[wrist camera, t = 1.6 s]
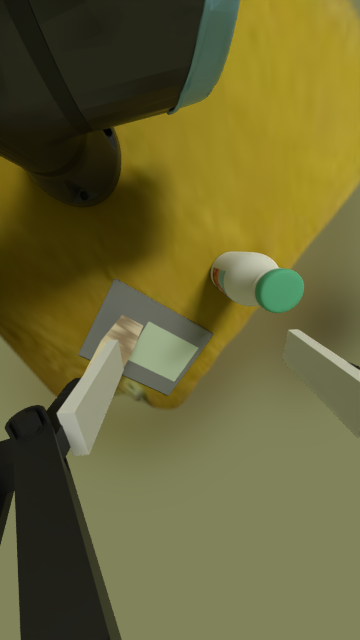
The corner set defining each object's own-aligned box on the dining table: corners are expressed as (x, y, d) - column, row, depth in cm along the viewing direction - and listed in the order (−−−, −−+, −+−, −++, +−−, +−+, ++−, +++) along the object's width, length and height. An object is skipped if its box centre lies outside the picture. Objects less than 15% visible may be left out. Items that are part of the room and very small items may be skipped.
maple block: (106, 343, 41) (81, 377, 30) (121, 314, 39) (100, 339, 28) (127, 353, 42) (110, 390, 31) (143, 325, 40) (131, 354, 29)
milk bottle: (212, 250, 36) (254, 249, 17) (251, 253, 36) (333, 255, 17) (207, 289, 38) (238, 325, 20) (243, 291, 39) (307, 329, 20)
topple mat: (80, 352, 43) (78, 354, 42) (115, 278, 37) (114, 279, 36) (168, 393, 48) (168, 395, 47) (212, 333, 42) (213, 334, 41)
